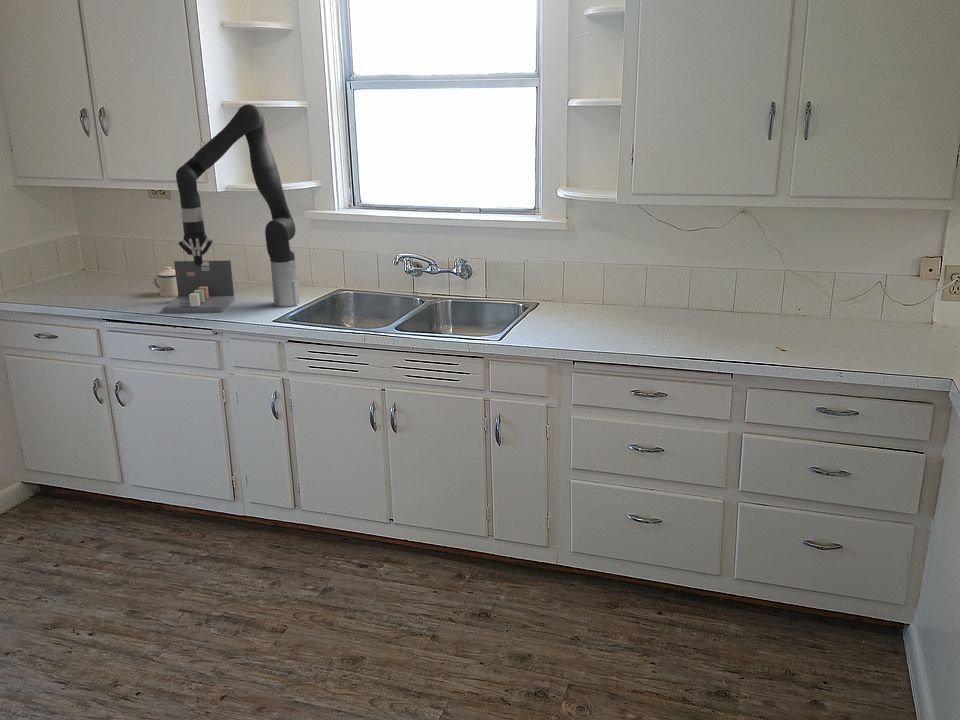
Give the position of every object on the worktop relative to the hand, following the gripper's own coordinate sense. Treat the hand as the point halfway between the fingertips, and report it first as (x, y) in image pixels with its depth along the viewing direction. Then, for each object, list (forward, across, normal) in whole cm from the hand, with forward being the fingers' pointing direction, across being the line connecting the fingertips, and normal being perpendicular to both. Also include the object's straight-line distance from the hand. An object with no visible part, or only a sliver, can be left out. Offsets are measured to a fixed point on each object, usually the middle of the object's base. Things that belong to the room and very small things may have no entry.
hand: (198, 265), depth 330 cm
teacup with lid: (+16, +21, -22) cm, 34 cm away
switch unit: (+16, +2, -2) cm, 17 cm away
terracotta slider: (+14, +1, -4) cm, 15 cm away
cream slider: (+14, +1, +6) cm, 15 cm away
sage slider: (+14, +1, +1) cm, 14 cm away
